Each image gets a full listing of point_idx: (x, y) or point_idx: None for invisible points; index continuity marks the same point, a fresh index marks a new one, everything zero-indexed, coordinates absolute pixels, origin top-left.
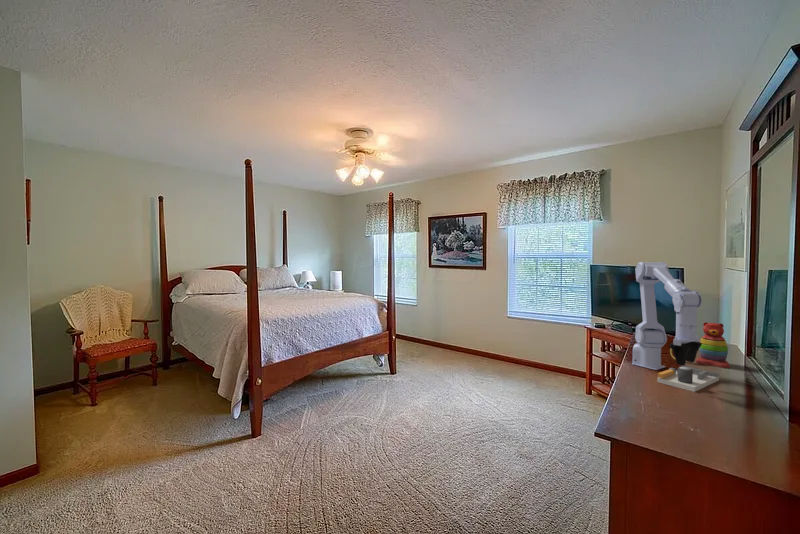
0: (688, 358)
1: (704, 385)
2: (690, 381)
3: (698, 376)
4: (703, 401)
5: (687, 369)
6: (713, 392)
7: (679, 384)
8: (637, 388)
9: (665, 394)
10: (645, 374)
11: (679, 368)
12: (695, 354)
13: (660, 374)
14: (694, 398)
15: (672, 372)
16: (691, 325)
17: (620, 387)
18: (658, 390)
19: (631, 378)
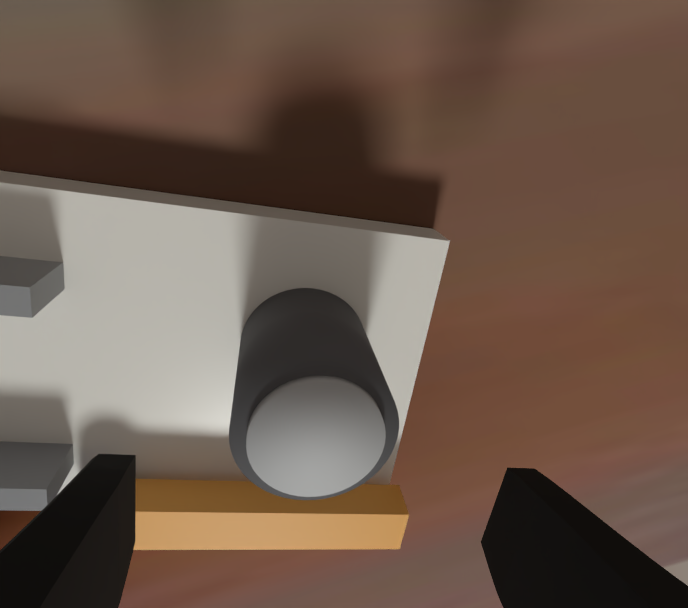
0: (114, 568)
1: (162, 196)
2: (341, 304)
3: (49, 293)
4: (673, 112)
5: (371, 408)
6: (294, 87)
7: (418, 355)
8: (634, 498)
9: (660, 356)
10: (215, 594)
11: (347, 481)
12: (51, 593)
13: (402, 525)
14: (631, 185)
15: (174, 497)
16: None
17: (675, 552)
18: (591, 412)
19: (420, 596)
